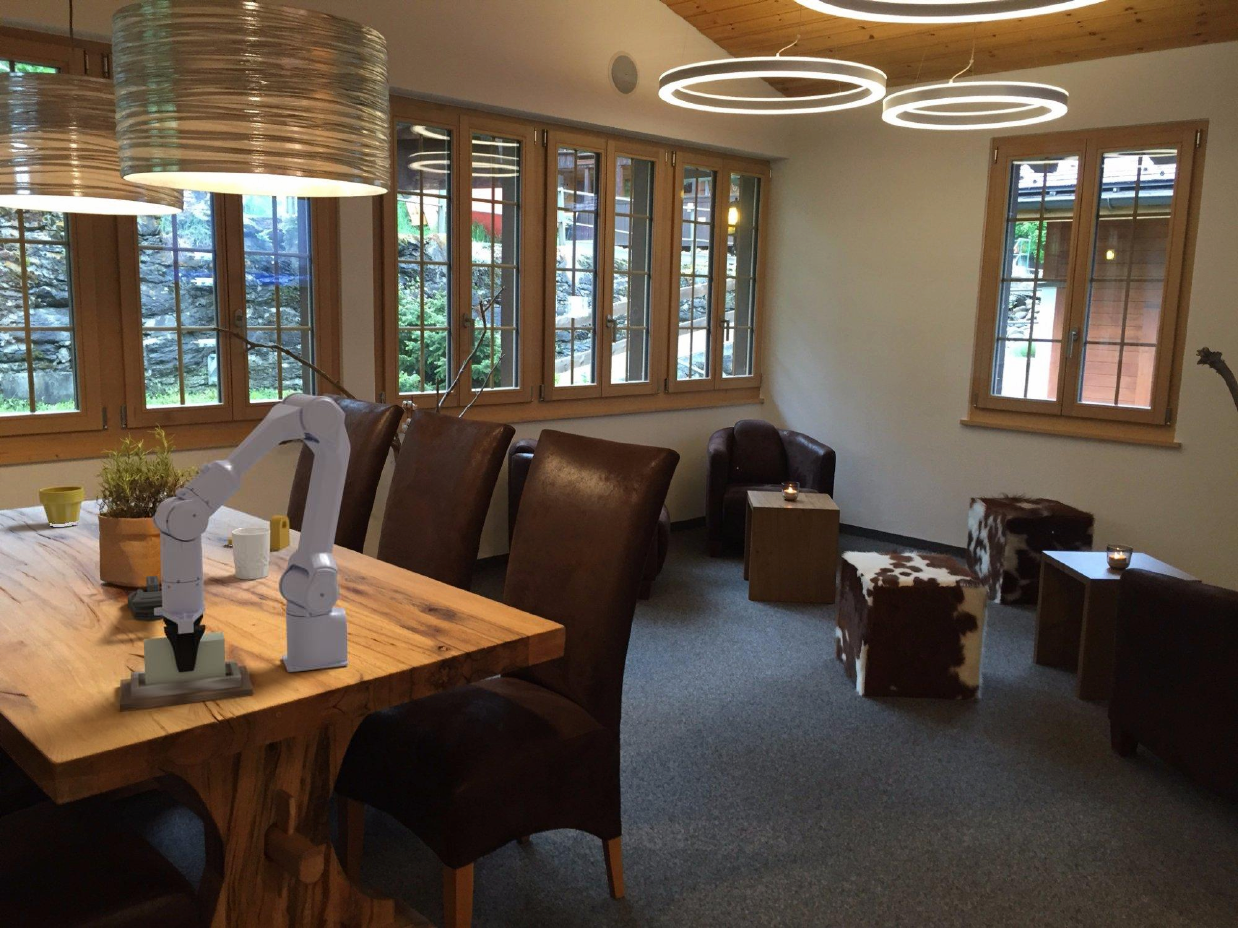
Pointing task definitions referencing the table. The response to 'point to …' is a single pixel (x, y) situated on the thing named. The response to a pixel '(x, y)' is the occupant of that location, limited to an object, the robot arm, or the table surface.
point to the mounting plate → (184, 689)
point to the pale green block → (164, 665)
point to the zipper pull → (146, 600)
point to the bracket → (277, 533)
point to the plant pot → (62, 503)
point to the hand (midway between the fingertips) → (185, 666)
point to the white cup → (251, 552)
